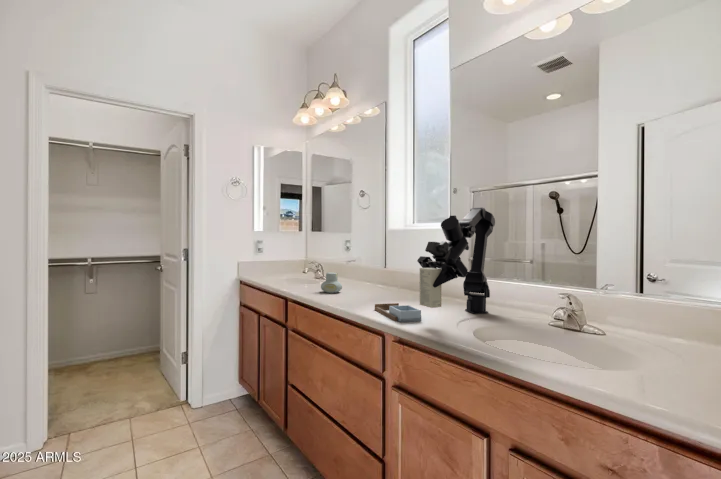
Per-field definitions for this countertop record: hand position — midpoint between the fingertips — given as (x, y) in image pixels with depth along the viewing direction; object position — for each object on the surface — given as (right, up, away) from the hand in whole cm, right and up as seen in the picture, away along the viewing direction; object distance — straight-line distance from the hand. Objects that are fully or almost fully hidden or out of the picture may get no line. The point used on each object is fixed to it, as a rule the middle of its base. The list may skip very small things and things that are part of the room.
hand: (426, 285), depth 112 cm
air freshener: (-36, -13, +68) cm, 78 cm away
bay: (-8, -13, +16) cm, 22 cm away
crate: (-6, -13, +10) cm, 17 cm away
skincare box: (+1, -7, +1) cm, 7 cm away
